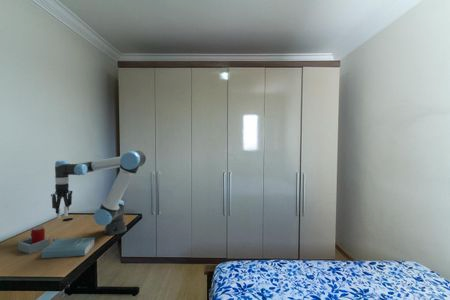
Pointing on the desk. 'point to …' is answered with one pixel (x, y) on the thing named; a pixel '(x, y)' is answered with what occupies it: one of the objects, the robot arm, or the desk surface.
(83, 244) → the book
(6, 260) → the desk surface
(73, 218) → the desk surface
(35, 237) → the beverage can
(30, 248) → the tray
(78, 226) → the desk surface
